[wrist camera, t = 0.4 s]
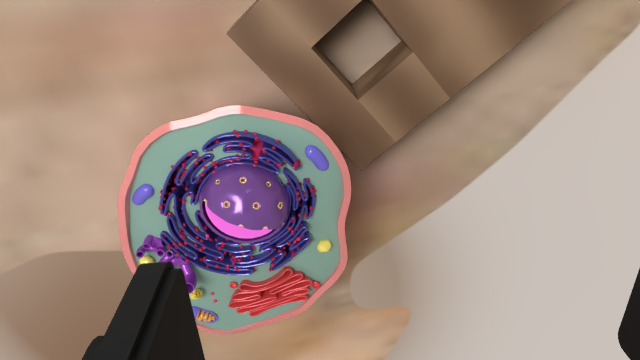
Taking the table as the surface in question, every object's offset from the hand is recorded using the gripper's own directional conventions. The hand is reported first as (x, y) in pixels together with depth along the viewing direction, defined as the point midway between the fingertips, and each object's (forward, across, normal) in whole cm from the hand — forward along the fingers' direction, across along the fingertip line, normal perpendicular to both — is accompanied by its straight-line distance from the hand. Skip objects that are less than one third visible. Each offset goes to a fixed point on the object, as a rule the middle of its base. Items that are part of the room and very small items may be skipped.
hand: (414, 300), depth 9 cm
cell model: (+29, +8, +12) cm, 32 cm away
